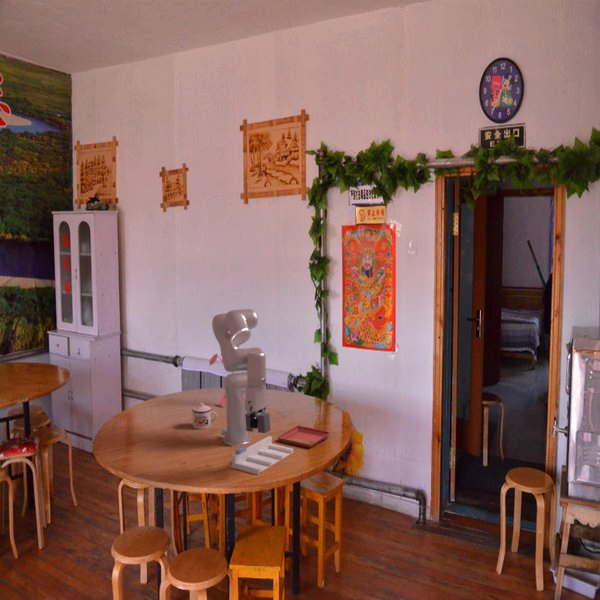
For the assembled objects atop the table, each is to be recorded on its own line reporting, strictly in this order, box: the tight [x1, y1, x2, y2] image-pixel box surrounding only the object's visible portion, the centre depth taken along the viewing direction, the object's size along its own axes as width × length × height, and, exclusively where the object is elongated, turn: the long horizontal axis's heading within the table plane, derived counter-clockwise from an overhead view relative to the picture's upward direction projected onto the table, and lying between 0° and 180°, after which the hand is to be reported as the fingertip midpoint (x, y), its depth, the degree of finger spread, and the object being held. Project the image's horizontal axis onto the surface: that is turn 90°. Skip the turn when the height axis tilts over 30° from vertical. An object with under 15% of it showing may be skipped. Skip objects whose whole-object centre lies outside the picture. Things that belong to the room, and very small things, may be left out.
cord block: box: [245, 411, 271, 434], centre depth 240 cm, size 9×4×7 cm, turn 60°
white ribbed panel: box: [231, 435, 294, 475], centre depth 248 cm, size 13×26×6 cm, turn 148°
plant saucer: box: [277, 425, 331, 449], centre depth 271 cm, size 18×18×3 cm
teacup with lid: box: [191, 402, 218, 430], centre depth 289 cm, size 12×9×12 cm
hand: (257, 425), depth 241 cm, fingers closed on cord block, 4 cm apart
